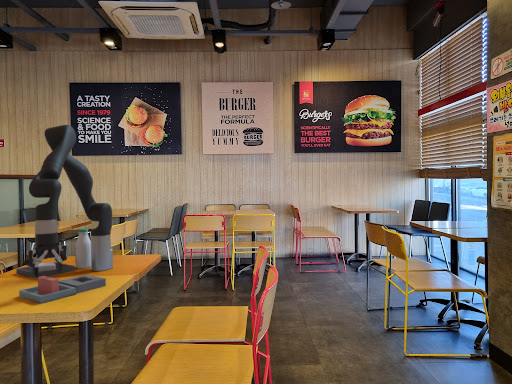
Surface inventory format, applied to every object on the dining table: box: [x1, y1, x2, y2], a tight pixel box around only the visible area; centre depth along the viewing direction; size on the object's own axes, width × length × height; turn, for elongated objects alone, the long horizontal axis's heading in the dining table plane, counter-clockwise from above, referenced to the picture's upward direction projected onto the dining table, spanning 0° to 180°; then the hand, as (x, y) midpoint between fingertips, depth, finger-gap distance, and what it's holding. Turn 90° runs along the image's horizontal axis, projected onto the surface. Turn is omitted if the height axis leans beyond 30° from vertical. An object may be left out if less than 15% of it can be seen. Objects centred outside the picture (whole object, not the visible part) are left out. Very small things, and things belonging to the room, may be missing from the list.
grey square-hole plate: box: [59, 274, 107, 294], centre depth 147 cm, size 12×14×4 cm
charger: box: [38, 261, 56, 272], centre depth 175 cm, size 5×9×15 cm
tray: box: [18, 284, 77, 305], centre depth 136 cm, size 13×16×2 cm
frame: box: [15, 261, 76, 279], centre depth 175 cm, size 18×19×2 cm
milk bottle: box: [74, 228, 91, 270], centre depth 185 cm, size 8×8×20 cm
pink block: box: [37, 276, 60, 295], centre depth 136 cm, size 2×6×10 cm
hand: (47, 274), depth 136 cm, fingers open, 7 cm apart
